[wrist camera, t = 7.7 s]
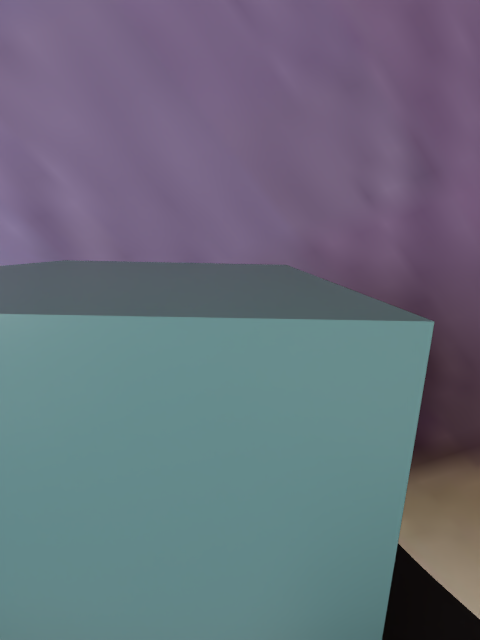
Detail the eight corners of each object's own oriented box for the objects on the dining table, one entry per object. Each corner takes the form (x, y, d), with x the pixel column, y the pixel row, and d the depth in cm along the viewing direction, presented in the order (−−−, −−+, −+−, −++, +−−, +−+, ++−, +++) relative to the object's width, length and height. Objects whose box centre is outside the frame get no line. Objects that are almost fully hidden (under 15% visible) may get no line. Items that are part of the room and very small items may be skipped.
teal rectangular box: (96, 568, 10) (-102, 1031, 4) (65, 260, 8) (-457, 307, 2) (270, 569, 10) (318, 1024, 4) (286, 264, 8) (433, 321, 2)
